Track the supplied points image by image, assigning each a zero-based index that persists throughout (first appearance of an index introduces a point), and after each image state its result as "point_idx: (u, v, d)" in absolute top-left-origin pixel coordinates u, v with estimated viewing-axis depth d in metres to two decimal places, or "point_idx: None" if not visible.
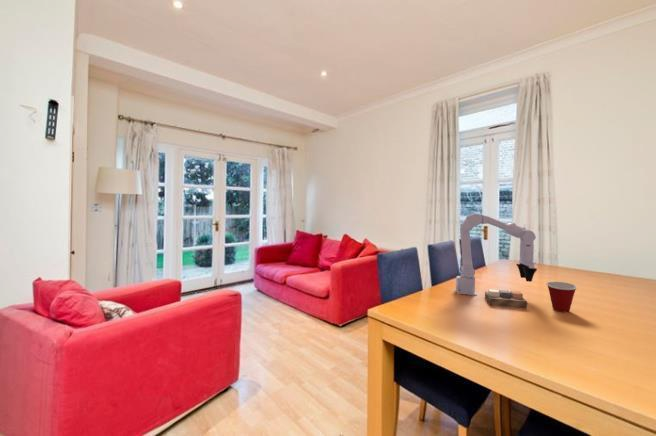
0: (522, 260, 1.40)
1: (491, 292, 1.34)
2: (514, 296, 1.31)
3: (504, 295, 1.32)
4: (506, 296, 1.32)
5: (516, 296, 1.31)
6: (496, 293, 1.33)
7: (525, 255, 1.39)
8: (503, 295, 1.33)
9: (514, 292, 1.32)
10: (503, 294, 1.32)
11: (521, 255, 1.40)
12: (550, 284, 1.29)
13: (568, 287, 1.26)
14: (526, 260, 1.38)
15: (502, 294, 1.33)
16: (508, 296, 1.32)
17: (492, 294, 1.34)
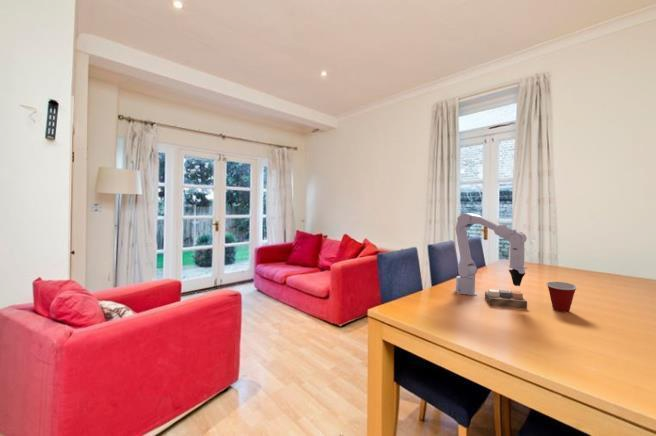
0: (512, 265, 1.31)
1: (491, 292, 1.34)
2: (514, 296, 1.31)
3: (504, 295, 1.32)
4: (506, 296, 1.32)
5: (516, 296, 1.31)
6: (496, 293, 1.33)
7: (515, 259, 1.30)
8: (503, 295, 1.33)
9: (514, 292, 1.32)
10: (503, 294, 1.32)
11: (511, 259, 1.32)
12: (550, 284, 1.29)
13: (568, 287, 1.26)
14: (516, 265, 1.30)
15: (502, 294, 1.33)
16: (508, 296, 1.32)
17: (492, 294, 1.34)
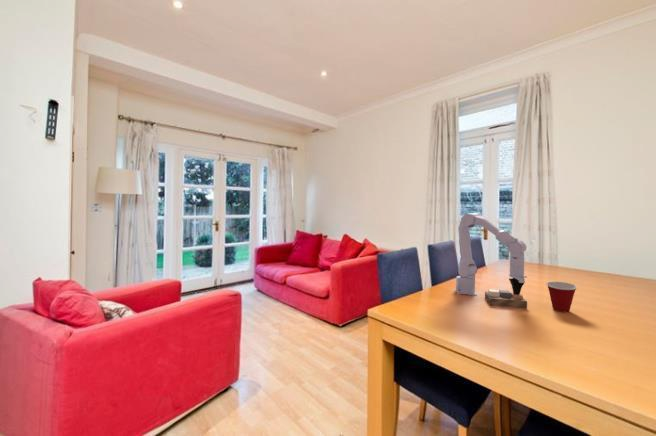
0: (512, 273, 1.31)
1: (491, 292, 1.34)
2: None
3: (504, 295, 1.32)
4: (506, 296, 1.32)
5: (516, 298, 1.31)
6: (496, 293, 1.33)
7: (515, 268, 1.30)
8: (503, 295, 1.33)
9: (514, 294, 1.32)
10: (503, 294, 1.32)
11: (511, 268, 1.32)
12: (550, 284, 1.29)
13: (568, 287, 1.26)
14: (516, 274, 1.30)
15: (502, 294, 1.33)
16: (508, 296, 1.32)
17: (492, 294, 1.34)
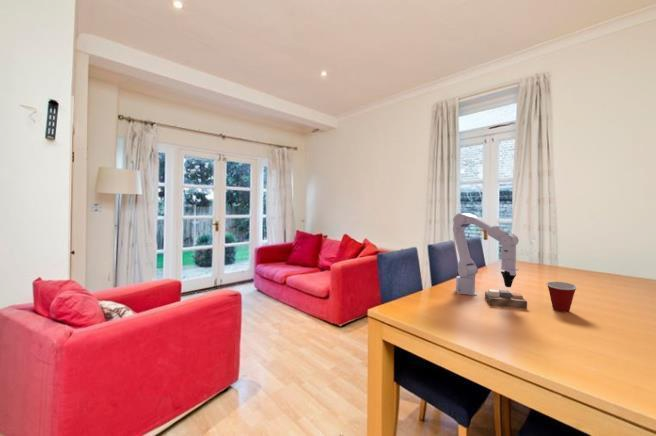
0: (504, 266, 1.32)
1: (491, 292, 1.34)
2: None
3: (504, 295, 1.32)
4: (506, 296, 1.32)
5: (516, 298, 1.31)
6: (496, 293, 1.33)
7: (507, 261, 1.31)
8: (503, 295, 1.33)
9: (514, 294, 1.32)
10: (503, 294, 1.32)
11: (503, 261, 1.33)
12: (550, 284, 1.29)
13: (568, 287, 1.26)
14: (508, 266, 1.31)
15: (502, 294, 1.33)
16: (508, 296, 1.32)
17: (492, 294, 1.34)
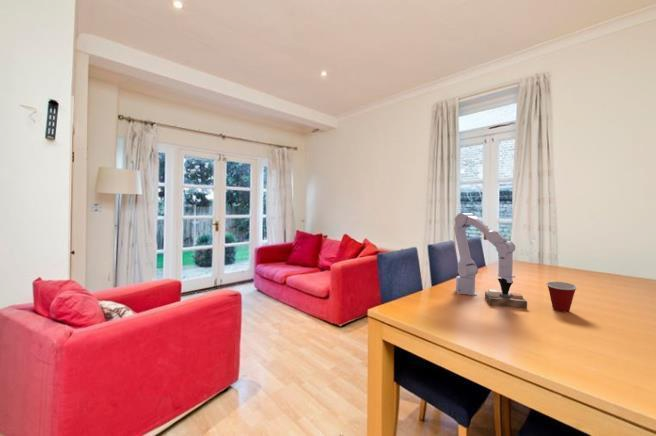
0: (501, 273, 1.33)
1: (491, 292, 1.34)
2: None
3: (504, 297, 1.32)
4: None
5: (516, 298, 1.31)
6: (496, 293, 1.33)
7: (503, 268, 1.32)
8: None
9: (514, 294, 1.32)
10: (503, 296, 1.33)
11: (500, 268, 1.33)
12: (550, 284, 1.29)
13: (568, 287, 1.26)
14: (505, 274, 1.31)
15: (502, 296, 1.33)
16: None
17: (492, 294, 1.34)
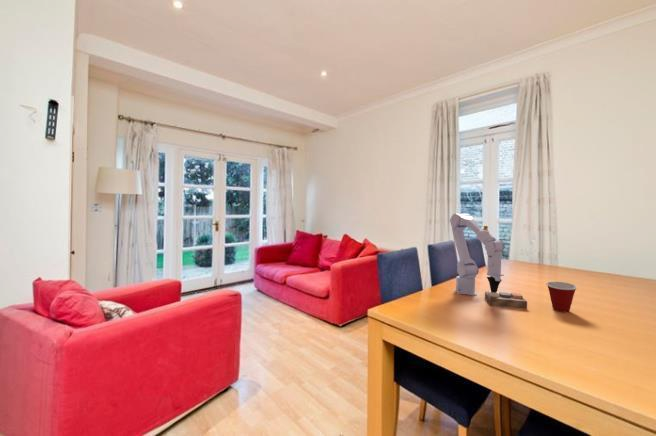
0: (489, 272, 1.34)
1: (491, 293, 1.34)
2: None
3: (504, 297, 1.32)
4: None
5: (516, 298, 1.31)
6: (496, 294, 1.33)
7: (492, 267, 1.33)
8: None
9: (514, 294, 1.32)
10: None
11: (488, 267, 1.35)
12: (550, 284, 1.29)
13: (568, 287, 1.26)
14: (493, 272, 1.33)
15: (502, 296, 1.33)
16: None
17: (492, 295, 1.34)
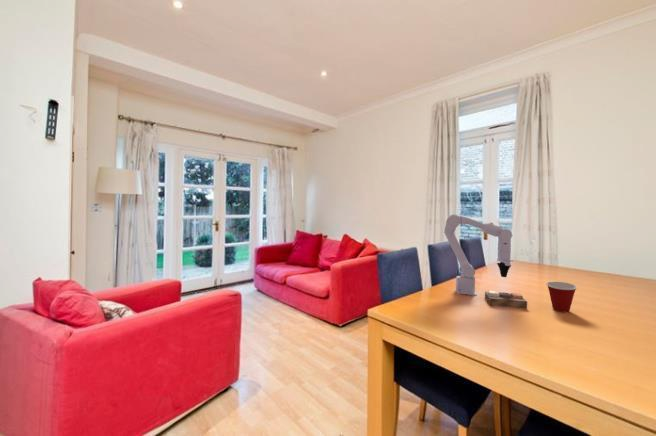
0: (500, 258, 1.44)
1: (491, 293, 1.34)
2: None
3: (504, 297, 1.32)
4: None
5: (516, 298, 1.31)
6: (496, 294, 1.33)
7: (502, 253, 1.42)
8: None
9: (514, 294, 1.32)
10: None
11: (499, 253, 1.44)
12: (550, 284, 1.29)
13: (568, 287, 1.26)
14: (503, 258, 1.42)
15: (502, 296, 1.33)
16: None
17: (492, 295, 1.34)
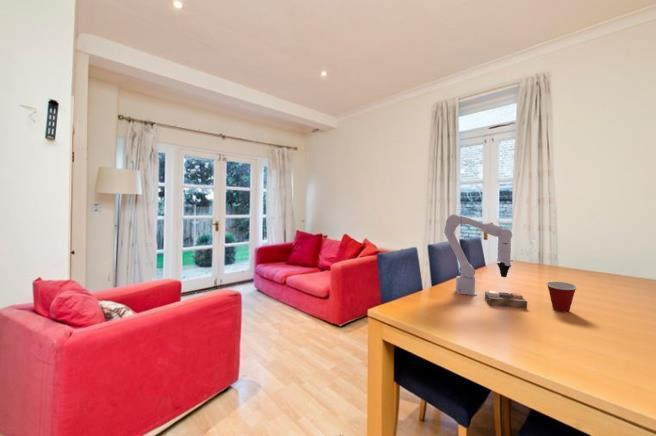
0: (500, 258, 1.44)
1: (491, 293, 1.34)
2: None
3: (504, 297, 1.32)
4: None
5: (516, 298, 1.31)
6: (496, 294, 1.33)
7: (502, 253, 1.42)
8: None
9: (514, 294, 1.32)
10: None
11: (499, 253, 1.44)
12: (550, 284, 1.29)
13: (568, 287, 1.26)
14: (503, 258, 1.42)
15: (502, 296, 1.33)
16: None
17: (492, 295, 1.34)
